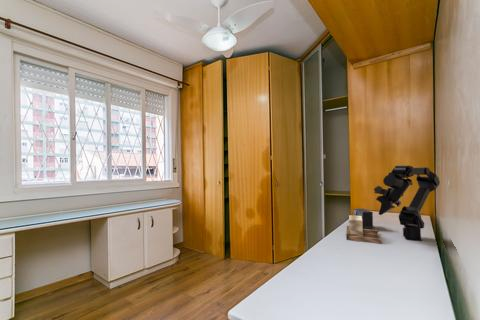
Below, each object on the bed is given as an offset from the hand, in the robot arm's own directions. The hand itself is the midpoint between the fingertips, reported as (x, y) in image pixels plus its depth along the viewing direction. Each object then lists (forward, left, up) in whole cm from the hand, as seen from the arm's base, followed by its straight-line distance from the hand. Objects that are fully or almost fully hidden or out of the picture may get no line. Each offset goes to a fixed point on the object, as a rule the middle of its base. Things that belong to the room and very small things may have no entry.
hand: (379, 214), depth 118 cm
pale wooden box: (+11, +2, -12) cm, 16 cm away
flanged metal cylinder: (+11, -13, -12) cm, 21 cm away
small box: (+7, -18, -12) cm, 23 cm away
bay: (+8, +2, -12) cm, 15 cm away
